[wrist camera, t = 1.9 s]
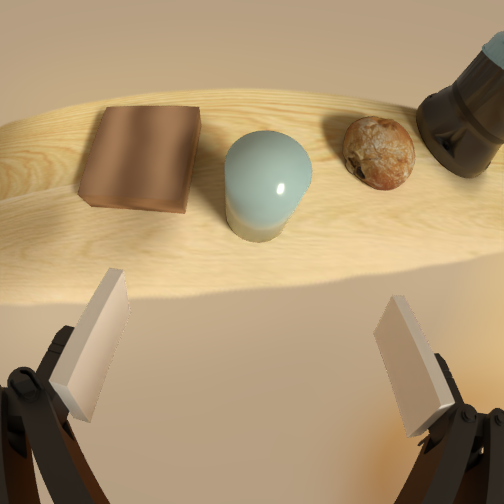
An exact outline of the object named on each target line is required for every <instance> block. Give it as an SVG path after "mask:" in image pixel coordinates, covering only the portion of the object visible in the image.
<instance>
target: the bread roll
mask: <svg viewBox="0 0 504 504" xmlns="http://www.w3.org/2000/svg"><path fill="white" fill-rule="evenodd" d="M343 154H344V157H345V159H346V160H347V162H346V167H347V169H348V171H349V172H351V173H352V174H355V175H356V176H357V177H358V178H360V179H361V180H362V181H364V182H366V183H367V184H369V185H370V186H372V187H373V188H374V189H377V190H392V189H394V188H397V187H398V186H400V185H401V184H402V183H403V182H404V181H405V180H406V179H407V178H408V177H409V175H410V174H411V172H412V170H413V166H414V163H415V152H414V146H413V143H412V140H411V138H410V136H409V135H408V133H407V131H406V130H405V129H404V128H403V127H402V126H401V125H400V124H399V123H397V122H396V121H394V120H393V119H384V118H379V117H375V116H371V117H366V118H362V119H359V120H357V121H356V122H354V123H352V125H351V126H350V127H349V128H348V130H347V132H346V136H345V139H344V145H343Z"/></svg>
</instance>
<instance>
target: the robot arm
mask: <svg viewBox="0 0 504 504" xmlns="http://www.w3.org/2000/svg"><path fill="white" fill-rule="evenodd" d="M416 117H417V125H418V128H419V131H420V134H421V136H422V138H423V140H424V142H425V144H426V145H427V147H428V148H429V150H430V151H431V152H432V154H433V155H434V156H435V157H436V159H437V160H438V161H439V162H440V163H441V164H442V165H443V166H445V167H446V168H447V169H448V170H450V171H451V172H453V173H454V174H456V175H458V176H461V177H464V178H474V177H476V176H478V175H479V174H481V173H482V172H484V171H485V170H486V169H487V168H488V166H489V164H490V163H491V160H492V159H493V157H494V156H495V154H496V153H497V151H498V150H499V148H500V146H501V145H502V144H503V143H504V31H501V32H498V33H497V34H496V35H494V37H493V38H492V39H491V40H490V41H489V42H488V43H487V44H484V45H483V47H482V51H481V52H480V53H479V54H478V55H477V57H476V58H475V59H474V60H473V61H472V62H471V64H470V65H469V66H468V67H467V68H466V69H465V70H464V72H463V73H462V74H461V75H460V76H459V77H458V78H457V80H456V81H455V82H454V83H453V84H452V85H451V86H448V87H446V88H444V89H442V90H441V91H439V92H438V93H435V94H431V95H429V96H428V97H427V98H426V99H425V100H424V101H423V102H422V103H421V105H420V106H419V107H418V110H417V116H416ZM130 313H131V311H130V306H129V300H128V294H127V288H126V281H125V275H124V270H121V269H113V268H109V270H108V271H107V273H106V274H105V276H104V278H103V279H102V281H101V283H100V284H99V286H98V288H97V289H96V291H95V293H94V295H93V296H92V298H91V300H90V301H89V303H88V305H87V307H86V309H85V310H84V312H83V314H82V316H81V318H80V319H79V321H78V323H77V325H76V327H70V326H64V327H63V328H62V329H61V330H59V331H58V332H57V333H56V335H55V337H54V339H53V340H52V344H51V345H50V346H49V348H48V351H47V352H46V354H45V356H44V357H43V359H42V361H41V363H40V365H39V367H38V369H37V371H36V373H35V372H34V371H33V370H32V369H31V368H28V367H19V368H17V369H15V370H14V371H13V372H12V373H11V374H10V375H9V378H8V380H7V386H8V387H6V388H5V387H1V385H0V504H41V503H40V499H39V494H38V489H37V484H36V478H35V473H34V465H33V458H32V451H33V454H34V457H35V460H36V462H37V465H38V467H39V470H40V473H41V475H42V478H43V480H44V482H45V485H46V487H47V489H48V491H49V494H50V496H51V498H52V500H53V502H54V504H110V503H109V501H108V499H107V498H106V496H105V495H104V493H103V491H102V489H101V487H100V486H99V484H98V482H97V480H96V478H95V476H94V475H93V473H92V471H91V469H90V467H89V465H88V463H87V462H86V459H85V457H84V455H83V453H82V451H81V449H80V447H79V445H78V442H77V440H76V438H75V436H74V433H73V431H72V429H71V426H70V424H69V422H68V420H67V416H68V413H69V412H70V413H71V415H72V416H73V417H74V418H76V419H79V420H82V421H86V422H89V423H90V422H91V418H92V415H93V412H94V409H95V406H96V403H97V400H98V397H99V394H100V392H101V389H102V386H103V383H104V380H105V377H106V374H107V372H108V369H109V366H110V364H111V361H112V358H113V356H114V353H115V351H116V348H117V345H118V343H119V340H120V338H121V335H122V333H123V330H124V328H125V325H126V323H127V321H128V318H129V316H130ZM374 336H375V339H376V342H377V344H378V347H379V350H380V353H381V356H382V358H383V361H384V364H385V367H386V370H387V373H388V376H389V379H390V382H391V385H392V388H393V391H394V394H395V398H396V401H397V404H398V407H399V411H400V414H401V417H402V420H403V424H404V427H405V431H406V435H407V437H413V436H418V435H421V434H422V433H424V432H425V431H426V430H427V429H428V430H429V433H430V434H429V435H428V436H426V437H425V438H424V439H423V440H422V441H420V442H419V444H418V446H420V445H421V444H423V443H424V444H423V446H422V449H421V451H420V454H419V455H418V458H417V460H416V462H415V464H414V466H413V468H412V470H411V472H410V475H409V477H408V479H407V480H406V483H405V484H404V487H403V488H402V490H401V492H400V494H399V496H398V497H397V499H396V501H395V503H394V504H504V411H503V410H502V409H500V408H495V409H493V410H492V411H491V412H490V413H489V414H483V413H477V411H476V410H475V408H474V407H472V406H471V405H468V404H465V403H464V402H463V399H462V397H461V395H460V392H459V390H458V388H457V385H456V383H455V381H454V379H453V378H452V374H451V372H450V371H449V368H448V366H447V364H446V362H445V360H444V359H443V358H442V357H441V356H440V354H439V353H436V354H434V353H433V351H432V349H431V347H430V345H429V343H428V341H427V339H426V337H425V335H424V333H423V331H422V329H421V327H420V325H419V323H418V321H417V319H416V317H415V315H414V313H413V311H412V309H411V308H410V306H409V304H408V302H407V300H406V298H405V297H404V296H397V295H396V296H395V295H392V297H391V299H390V301H389V303H388V305H387V307H386V309H385V311H384V313H383V315H382V317H381V319H380V321H379V323H378V325H377V327H376V329H375V331H374ZM483 447H484V451H483V453H482V452H481V450H482V448H483ZM31 449H32V450H31Z"/></svg>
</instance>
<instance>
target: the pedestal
mask: <svg viewBox="0 0 504 504" xmlns="http://www.w3.org/2000/svg"><path fill="white" fill-rule="evenodd" d="M200 130H201V119H200V110H199V107H188V106H122V107H107V108H106V110H105V113H104V115H103V118H102V120H101V123H100V126H99V128H98V131H97V134H96V136H95V139H94V142H93V145H92V148H91V151H90V154H89V157H88V160H87V163H86V167H85V170H84V173H83V177H82V180H81V184H80V187H79V191H78V195H79V196H80V197H81V198H82V199H83V200H84V201H86V202H87V203H88V204H89V205H90V206H91V207H105V208H120V209H134V210H147V211H159V212H172V213H183V214H185V212H186V206H187V200H188V194H189V188H190V182H191V177H192V171H193V166H194V161H195V155H196V150H197V145H198V140H199V135H200Z"/></svg>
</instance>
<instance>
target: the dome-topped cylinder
mask: <svg viewBox="0 0 504 504" xmlns="http://www.w3.org/2000/svg"><path fill="white" fill-rule="evenodd" d="M311 178H312V165H311V161H310V158H309V156H308V154H307V153H306V151H305V150H304V148H303V147H302V146H301V145H300V144H299V143H298V142H297V141H295V140H294V139H293V138H291V137H289V136H287V135H285V134H282V133H279V132H275V131H256V132H252V133H249V134H247V135H244V136H243V137H241V138H240V139H238V140H237V141H236V142H235V143H234V144H233V145H232V146H231V148H230V149H229V151H228V153H227V155H226V159H225V200H226V218H227V222H228V224H229V226H230V228H231V229H232V231H233V232H234V233H235V234H236V235H238V236H239V237H240V238H242V239H244V240H246V241H250V242H256V243H260V242H266V241H269V240H272V239H274V238H275V237H277V236H278V235H279V234H280V233H281V232H282V231H283V229H284V228H285V226H286V224H287V223H288V221H289V219H290V218H291V216H292V214H293V213H294V211H295V209H296V207H297V206H298V204H299V202H300V201H301V199H302V197H303V196H304V194H305V192H306V190H307V189H308V187H309V185H310V182H311Z"/></svg>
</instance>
